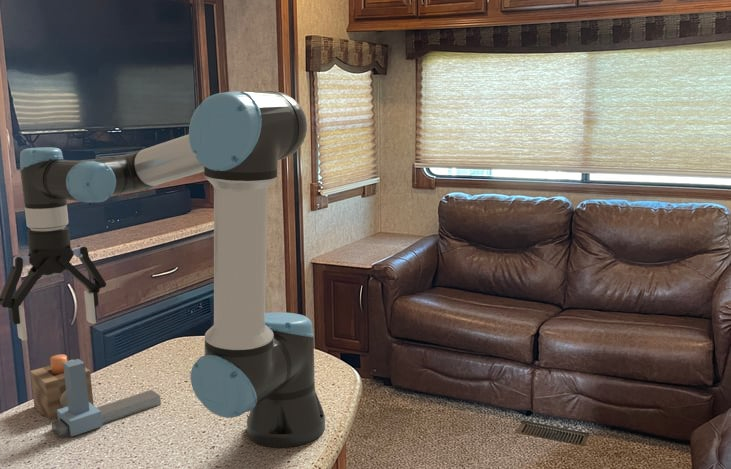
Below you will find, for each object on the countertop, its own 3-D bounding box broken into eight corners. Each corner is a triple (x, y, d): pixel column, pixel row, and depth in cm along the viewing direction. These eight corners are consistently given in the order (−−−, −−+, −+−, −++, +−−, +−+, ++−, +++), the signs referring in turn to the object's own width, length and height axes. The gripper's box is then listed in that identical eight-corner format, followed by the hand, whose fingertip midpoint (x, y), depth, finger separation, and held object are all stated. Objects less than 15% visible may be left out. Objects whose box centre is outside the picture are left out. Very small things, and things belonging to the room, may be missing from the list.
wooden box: (94, 406, 146) (91, 371, 145) (51, 421, 140) (46, 384, 139) (76, 393, 153) (73, 359, 152) (34, 406, 147) (30, 370, 146)
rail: (160, 404, 147) (160, 395, 147) (60, 438, 133) (58, 429, 133) (152, 398, 150) (151, 389, 150) (52, 431, 136) (51, 422, 135)
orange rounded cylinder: (70, 371, 145) (69, 357, 145) (55, 375, 143) (53, 361, 143) (64, 367, 148) (63, 353, 147) (49, 371, 146) (47, 357, 145)
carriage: (102, 426, 137) (96, 363, 134) (72, 436, 133) (65, 372, 130) (88, 414, 142) (82, 354, 139) (58, 424, 138) (51, 362, 135)
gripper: (101, 216, 147) (109, 312, 151) (-29, 233, 130) (-15, 340, 134) (117, 221, 142) (125, 320, 146) (-16, 239, 124) (-3, 351, 129)
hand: (58, 330), depth 140 cm, fingers open, 13 cm apart
